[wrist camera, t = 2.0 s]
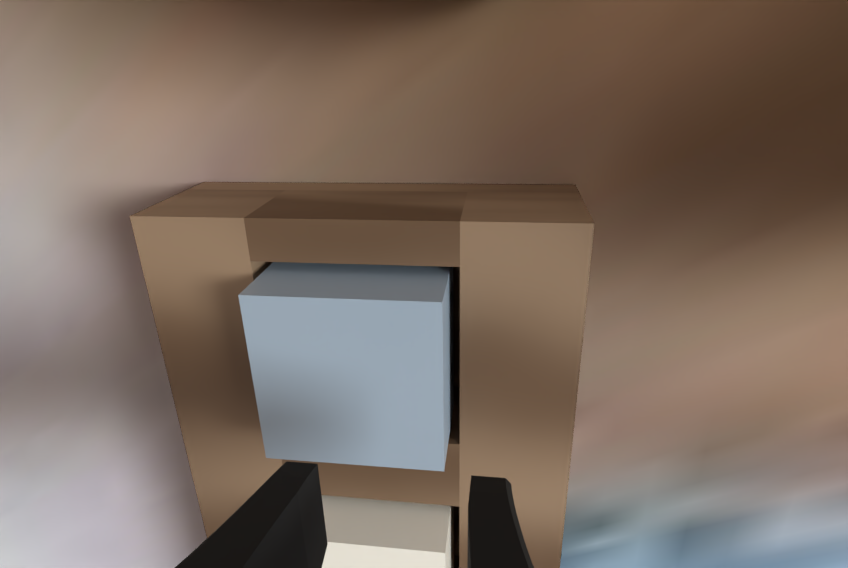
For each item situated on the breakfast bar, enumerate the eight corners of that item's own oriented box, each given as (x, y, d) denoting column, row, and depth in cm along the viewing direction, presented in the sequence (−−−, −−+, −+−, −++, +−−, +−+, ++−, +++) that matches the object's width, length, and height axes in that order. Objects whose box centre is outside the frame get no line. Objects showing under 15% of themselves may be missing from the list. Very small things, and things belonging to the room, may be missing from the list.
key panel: (532, 685, 26) (537, 788, 23) (289, 655, 28) (257, 747, 24) (574, 184, 17) (594, 223, 13) (203, 182, 18) (129, 216, 15)
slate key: (453, 405, 18) (444, 471, 15) (301, 395, 18) (266, 458, 16) (453, 257, 16) (442, 302, 13) (282, 252, 16) (238, 295, 14)
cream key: (454, 583, 21) (446, 664, 18) (324, 570, 21) (298, 647, 19) (453, 479, 19) (445, 552, 16) (311, 467, 19) (279, 537, 17)
